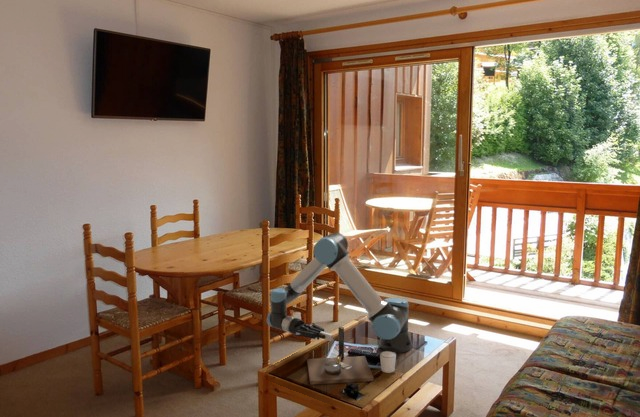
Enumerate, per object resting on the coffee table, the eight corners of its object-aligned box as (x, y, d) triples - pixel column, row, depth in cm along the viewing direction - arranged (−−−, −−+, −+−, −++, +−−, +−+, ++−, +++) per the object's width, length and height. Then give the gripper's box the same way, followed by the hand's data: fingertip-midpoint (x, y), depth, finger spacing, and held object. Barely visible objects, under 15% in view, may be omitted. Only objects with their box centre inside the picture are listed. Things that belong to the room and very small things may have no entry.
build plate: (334, 393, 191) (334, 382, 190) (345, 386, 196) (345, 375, 196) (359, 404, 183) (359, 392, 182) (370, 396, 188) (370, 385, 188)
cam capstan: (338, 375, 200) (338, 343, 198) (322, 372, 202) (321, 340, 200) (349, 358, 216) (349, 328, 214) (334, 356, 218) (334, 326, 216)
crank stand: (364, 359, 219) (364, 355, 219) (373, 380, 199) (373, 376, 199) (307, 362, 217) (307, 358, 216) (310, 384, 197) (310, 380, 197)
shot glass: (376, 367, 211) (377, 352, 210) (390, 364, 213) (390, 349, 212) (385, 374, 204) (385, 359, 203) (399, 371, 207) (399, 356, 206)
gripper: (302, 328, 238) (341, 341, 223) (284, 337, 229) (322, 350, 214) (302, 314, 237) (340, 325, 222) (283, 322, 228) (322, 334, 213)
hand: (332, 338), depth 218 cm, fingers closed
